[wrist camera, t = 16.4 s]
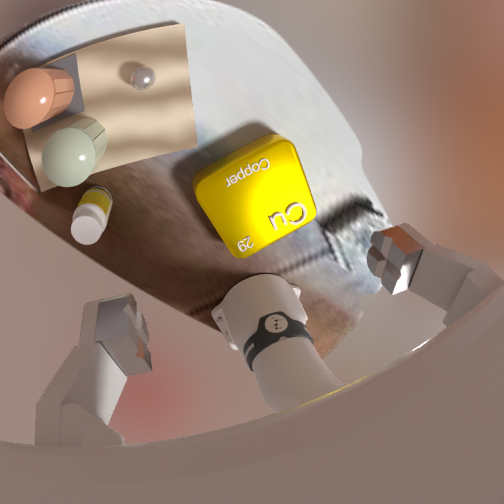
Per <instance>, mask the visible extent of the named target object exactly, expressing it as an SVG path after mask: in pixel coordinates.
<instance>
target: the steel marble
mask: <svg viewBox="0 0 504 504" xmlns="http://www.w3.org/2000/svg"><path fill="white" fill-rule="evenodd" d="M155 79H156V74H155V72H154V70H153V69H152V68H150V67H147V66H142V67H139V68H137V69H136V70H134V72H133V73H132V75H131V78H130V82H131V85H132V86H133V87H134V88H135V89H137V90H146V89H148V88H150V87H151V86H152V85H153V84H154V82H155Z"/></svg>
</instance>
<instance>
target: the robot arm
mask: <svg viewBox="0 0 504 504" xmlns="http://www.w3.org/2000/svg"><path fill="white" fill-rule="evenodd" d="M370 242H371V244H372V246H371V248H370V249H369V251H368V254H367V264H368V267H369V269H370V271H371V272H372V273H373V275H374V276H377V277H379V278H381V283H382V285H383V286H384V287H385V288H386V289H387V290H388V291H389V292H390V293H391V295H394V294H396V293H398V292H401V291H404V290H406V289H408V288H409V290H410V291H412V292H414V293H415V294H417V295H419V296H421V297H423V298H424V299H426V300H428V301H430V302H432V303H433V304H435V305H437V306H439V307H440V308H442V309H444V310H446V311H447V313H446V315H445V317H444V319H443V323H444V324H445V325H446V326H447V328H445V329H444V330H442V331H441V332H439V333H438V334H437V335H435V336H433V337H432V338H430V339H429V340H427V341H426V342H424V343H423V344H421V345H420V346H418V347H416V348H415V349H413V350H411V351H410V352H408V353H406V354H405V355H403V356H401V357H399V358H398V359H396V360H394V361H392V362H391V363H389V364H387V365H385V366H383V367H381V368H379V369H378V370H376V371H374V372H372V373H370V374H368V375H366V376H364V377H362V378H360V379H358V380H356V381H354V382H351V383H349V384H347V385H346V384H344V383H342V382H341V381H339V380H338V379H337V378H336V377H335V376H334V375H332V373H331V372H330V371H329V369H328V368H327V367H326V365H325V364H324V362H323V361H322V359H321V358H320V356H319V354H318V353H317V351H316V349H315V348H314V346H313V339H312V338H311V334H310V332H309V331H308V329H307V328H306V326H305V324H306V320H307V315H306V313H305V311H304V309H303V307H302V305H301V303H300V301H299V296H300V293H301V290H300V288H299V287H298V286H296V285H292V284H289V283H287V282H286V281H285V280H284V279H283V278H281V277H279V276H277V275H272V274H261V275H256V276H252V277H249V278H247V279H245V280H243V281H241V282H239V283H238V284H236V285H235V286H234V287H233V288H232V289H231V290H230V291H229V292H228V293H227V294H226V296H225V297H224V299H223V301H222V302H221V303H220V304H219V305H218V306H216V307H215V308H214V309H213V310H212V311H211V315H212V317H213V319H214V320H215V322H216V324H217V325H218V327H219V329H220V330H221V332H222V333H223V335H224V336H225V338H226V340H227V341H228V343H229V344H230V346H231V347H232V349H234V350H239V351H240V352H241V354H242V355H243V357H244V358H245V359H246V362H247V364H248V366H249V368H250V369H251V371H253V372H254V374H255V377H256V379H257V382H258V384H259V387H260V389H261V392H262V394H263V397H264V399H265V402H266V403H267V404H268V405H269V406H270V407H271V408H273V409H274V410H276V411H279V412H277V413H274V414H271V415H268V416H265V417H262V418H259V419H256V420H252V421H249V422H245V423H242V424H238V425H234V426H230V427H227V428H223V429H219V430H214V431H210V432H206V433H201V434H196V435H191V436H186V437H181V438H175V439H169V440H163V441H155V442H148V443H139V444H129V445H125V444H124V437H123V436H122V435H121V434H119V433H118V432H116V431H115V430H113V429H112V428H110V427H109V426H108V423H109V421H110V418H111V416H112V413H113V411H114V408H115V406H116V403H117V401H118V399H119V396H120V394H121V392H122V389H123V387H124V384H125V383H126V380H127V376H132V375H137V374H141V373H146V372H150V371H152V365H151V355H150V352H149V350H148V348H147V347H146V346H147V344H148V342H149V334H148V329H147V325H146V322H145V319H144V317H143V315H142V313H141V312H139V311H138V310H137V307H136V301H135V299H134V297H133V295H132V294H125V295H121V296H116V297H111V298H107V299H101V300H98V301H93V302H89V303H86V305H85V306H84V312H83V317H82V324H81V331H80V339H79V346H75V347H74V348H73V350H72V351H71V352H70V354H69V355H68V357H67V358H66V360H65V361H64V362H63V364H62V365H61V367H60V368H59V370H58V371H57V373H56V374H55V376H54V377H53V379H52V380H51V382H50V383H49V385H48V386H47V388H46V389H45V391H44V393H43V394H42V396H41V397H40V399H39V401H38V402H37V404H36V419H35V420H36V421H35V445H29V444H20V443H13V442H6V441H0V504H504V281H503V280H502V279H501V278H500V277H499V276H498V275H497V274H496V273H495V272H494V271H493V270H492V269H491V268H490V267H488V266H487V265H486V264H485V263H484V262H482V261H479V260H477V259H474V258H472V257H469V256H466V255H464V254H461V253H458V252H456V251H453V250H451V249H448V248H445V247H443V246H440V245H437V244H436V245H433V244H432V243H431V242H430V241H429V240H427V239H426V238H425V237H424V236H423V235H421V234H420V233H419V232H418V231H416V230H415V229H414V228H413V227H411V226H410V225H409V224H407V223H401V224H398V225H395V226H392V227H388V228H385V229H381V230H378V231H374V233H373V234H372V236H371V240H370Z"/></svg>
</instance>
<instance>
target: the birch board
mask: <svg viewBox="0 0 504 504" xmlns="http://www.w3.org/2000/svg"><path fill="white" fill-rule="evenodd" d="M74 54H76V56H77V65H78V72H79V79H80V86H81V92H82V98H83V104H84V109H85V111H84V112H81V113H78V114H76V115H73V116H70V117H68V118H65V119H63V120H60V121H58V122H55V123H53V124H51V125H48V126H46V127H44V128H41V129H39V130H37V131H35V132H33V133H32V130H31V127H30V128H26V129H23V132H24V137H25V141H26V144H27V148H28V152H29V155H30V159H31V162H32V165H33V169H34V172H35V175H36V178H37V181H38V184H39V187H40V190H41V192H43V191H46V190H48V189H51V188H54V187H56V186H59V185H57V184H55V183H53V182H52V181H51V180H50V179H49V178H48V177H47V175H46V174H45V172H44V170H43V166H42V151H43V148H44V145H45V143H46V142H47V140H48V139H49V138H50V137H51V136H52V135H53V134H54V133H55V132H56V131H57V130H59V129H61V128H63V127H64V126H66V125H68V124H70V123H72V122H73V121H76V120H79V119H82V118H84V117H86V118H91V119H95V120H96V121H97V120H98V122H99V123H100V124H101V125H102V126H103V127H104V128H105V129H106V134H107V138H108V144H107V147H106V151H105V154H104V155H103V157H102V158H101V160H100V161H99V163H98V164H97V166H96V167H95V169H94V170H93V171H92V172H91V174H94V173H97V172H100V171H103V170H107V169H110V168H113V167H117V166H120V165H124V164H127V163H131V162H135V161H138V160H142V159H146V158H150V157H154V156H158V155H163V154H167V153H171V152H176V151H181V150H185V149H190V148H195V147H198V142H197V134H196V127H195V119H194V111H193V103H192V95H191V87H190V78H189V69H188V59H187V49H186V39H185V27H184V23H183V24H176V25H170V26H164V27H158V28H153V29H148V30H144V31H139V32H135V33H131V34H127V35H123V36H119V37H116V38H112V39H109V40H105V41H102V42H99V43H96V44H93V45H90V46H87V47H84V48H81V49H79V50H76V51H73V52H71V53H68V54H66V55H63V56H61V57H59V58H56V59H54V60H52V61H50V62H47V63H45V64H43V65H41V66H39V67H37V68H43V67H45V66H48V65H50V64H52V63H54V62H57V61H59V60H61V59H64V58H66V57H69V56H71V55H74ZM142 66H147V67H150V68H152V69H153V70H154V72H155V74H156V79H155V82H154V84H153V85H152V86H151V87H150V88H148V89H146V90H137V89H135V88H134V87H133V86H132V85H131V82H130V78H131V75H132V73H133V72H134V70H136V69H137V68H139V67H142ZM105 129H104V130H105ZM91 174H90V175H91Z"/></svg>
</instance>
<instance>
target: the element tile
mask: <svg viewBox="0 0 504 504" xmlns="http://www.w3.org/2000/svg"><path fill="white" fill-rule="evenodd" d="M192 187H193V190H194V193H195V196H196V199H197V201H198V202H199V204H200V205H201V207H202V209H203V210H204V212H205V213H206V215H207V216H208V218H209V220H210V221H211V223H212V224H213V226H214V227H215V229H216V231H217V232H218V234H219V235H220V237H221V238H222V240H223V241H224V243H225V245H226V246H227V248H228V249H229V251H230V252H231V254H232V255H233V256H235V257H236V258H241V259H242V258H246V257H249V256H251V255H253V254H254V253H256V252H258V251H260V250H262V249H263V248H265V247H267V246H269V245H271V244H272V243H274V242H276V241H278V240H280V239H281V238H283V237H285V236H287V235H288V234H290V233H292V232H294V231H296V230H297V229H299V228H301V227H303V226H305V225H306V224H308V223H309V222H311V221H312V220H313V219H314V217H315V215H316V206H315V203H314V200H313V197H312V194H311V191H310V188H309V185H308V182H307V179H306V176H305V173H304V170H303V167H302V164H301V162H300V159H299V156H298V153H297V151H296V148H295V146H294V145H293V143H292V142H291V141H289V140H288V139H286V138H284V137H282V136H280V135H278V134H268V135H266V136H263V137H261V138H259V139H257V140H255V141H253V142H251V143H249V144H247V145H246V146H244V147H242V148H240V149H238V150H236V151H234V152H232V153H230V154H228V155H226V156H225V157H223V158H221V159H219V160H217V161H215V162H214V163H212V164H210V165H208V166H206V167H205V168H203V169H201V170H200V171H198V172H197V173H196V174H195V175H194V177H193V180H192Z"/></svg>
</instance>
